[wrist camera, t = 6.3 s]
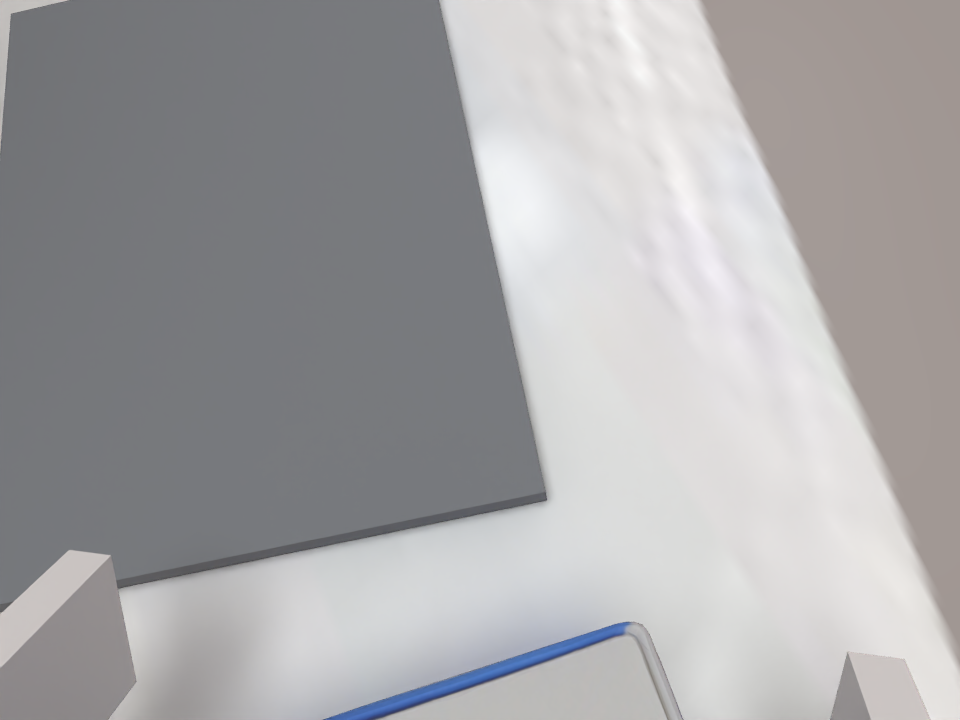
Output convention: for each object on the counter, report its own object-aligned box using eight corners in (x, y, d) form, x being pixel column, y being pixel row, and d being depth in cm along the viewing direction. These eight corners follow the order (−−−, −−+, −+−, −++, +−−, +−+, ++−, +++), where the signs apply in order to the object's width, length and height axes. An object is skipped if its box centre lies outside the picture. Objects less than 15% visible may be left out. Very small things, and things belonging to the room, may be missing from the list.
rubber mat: (27, 33, 25) (11, 13, 24) (425, -59, 25) (420, -81, 24) (-11, 614, 18) (-35, 611, 17) (546, 500, 18) (545, 491, 17)
